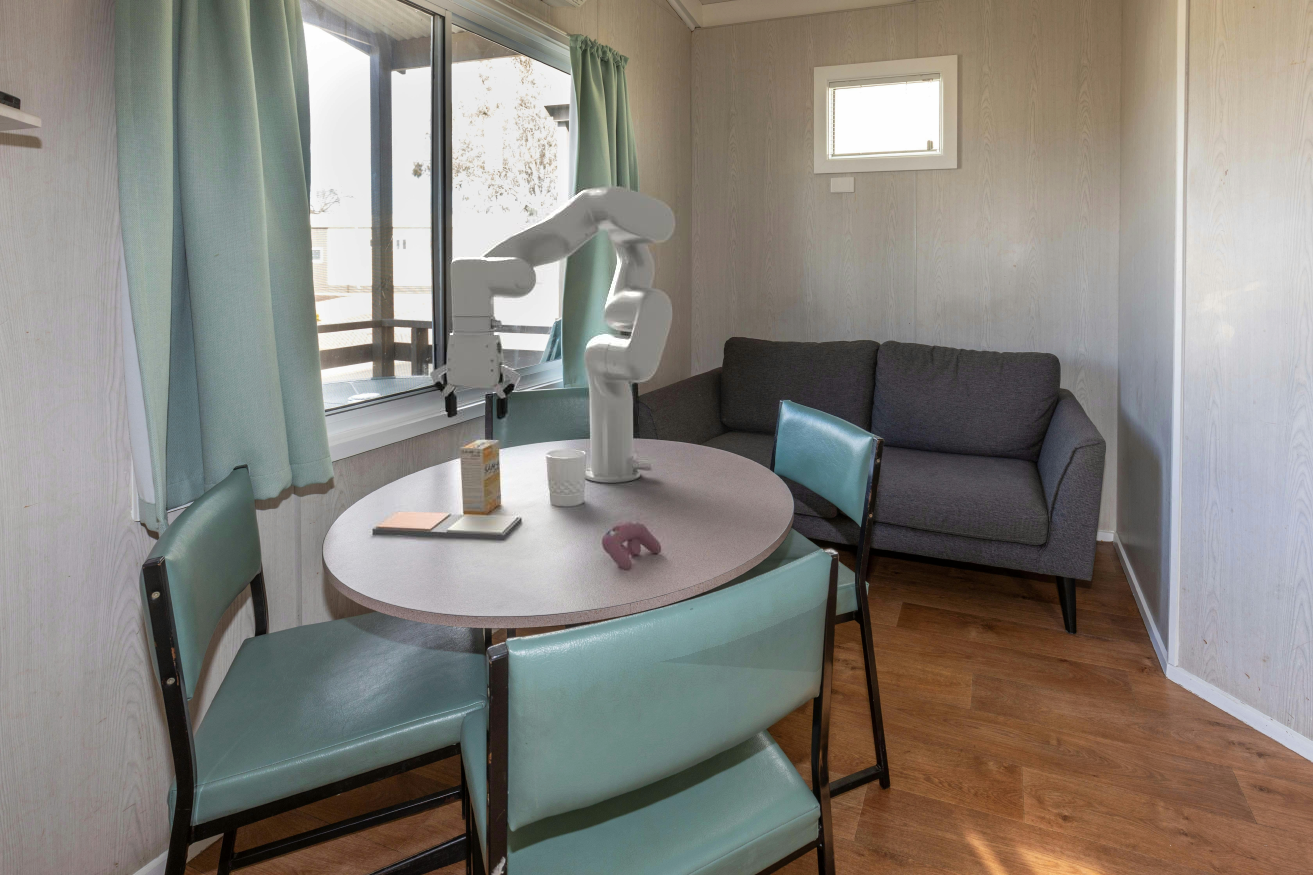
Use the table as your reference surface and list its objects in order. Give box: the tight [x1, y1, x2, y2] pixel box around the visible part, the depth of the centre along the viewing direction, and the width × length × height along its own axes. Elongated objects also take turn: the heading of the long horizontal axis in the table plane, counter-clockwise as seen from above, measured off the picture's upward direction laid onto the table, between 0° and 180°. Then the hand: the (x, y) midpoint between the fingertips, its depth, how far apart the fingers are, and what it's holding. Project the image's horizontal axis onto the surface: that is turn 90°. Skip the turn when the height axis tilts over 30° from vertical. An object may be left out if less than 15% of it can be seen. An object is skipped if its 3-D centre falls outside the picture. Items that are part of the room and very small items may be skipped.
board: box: [371, 510, 523, 542], centre depth 144 cm, size 24×10×1 cm, turn 82°
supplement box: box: [459, 439, 502, 515], centre depth 154 cm, size 8×5×13 cm, turn 168°
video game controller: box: [601, 520, 662, 570], centre depth 129 cm, size 10×5×7 cm, turn 146°
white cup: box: [545, 448, 587, 508], centre depth 159 cm, size 8×8×10 cm
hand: (476, 417), depth 151 cm, fingers open, 9 cm apart
